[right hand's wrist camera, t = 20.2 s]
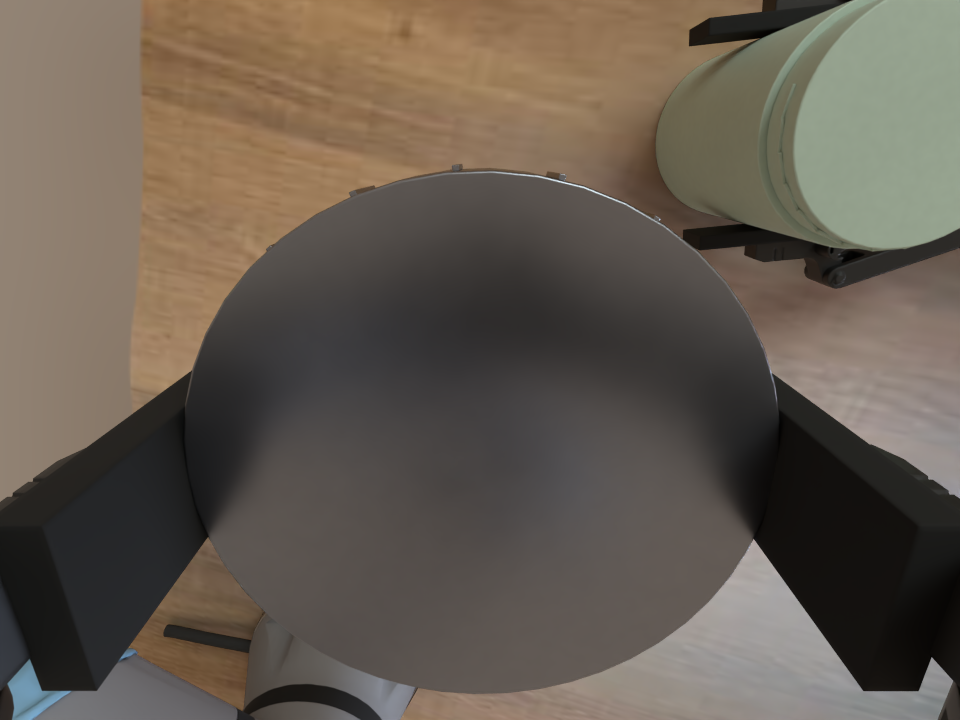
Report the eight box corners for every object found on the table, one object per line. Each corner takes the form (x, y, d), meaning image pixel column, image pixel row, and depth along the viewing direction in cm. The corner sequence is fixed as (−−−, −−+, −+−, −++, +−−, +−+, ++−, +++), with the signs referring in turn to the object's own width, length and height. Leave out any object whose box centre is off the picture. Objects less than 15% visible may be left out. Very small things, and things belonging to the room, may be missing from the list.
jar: (673, 234, 37) (804, 291, 22) (639, 87, 34) (763, 33, 18) (817, 184, 35) (1062, 207, 20) (796, 25, 32) (1066, -86, 17)
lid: (700, 102, 10) (765, 85, 8) (741, 567, 13) (794, 647, 11) (153, 241, 11) (69, 262, 8) (329, 643, 14) (303, 731, 12)
